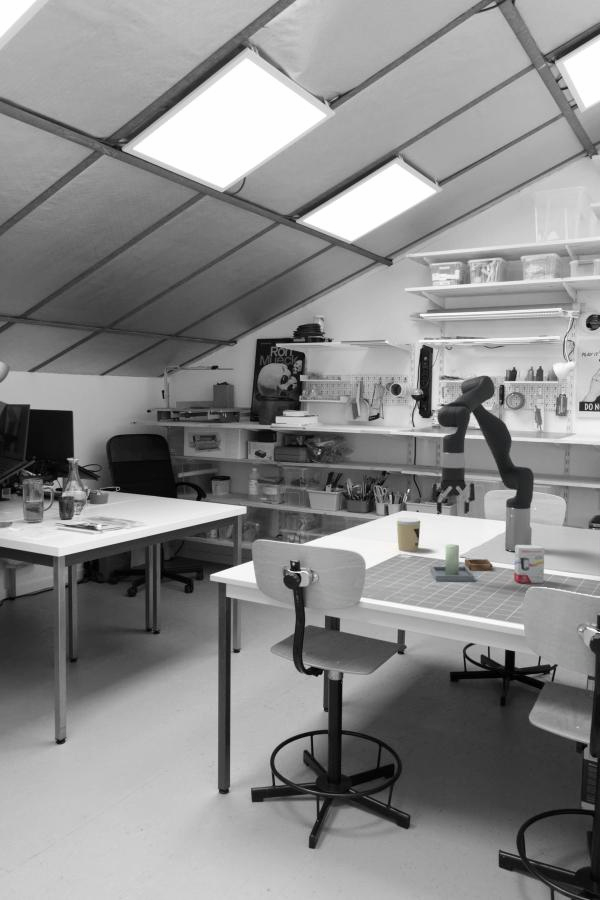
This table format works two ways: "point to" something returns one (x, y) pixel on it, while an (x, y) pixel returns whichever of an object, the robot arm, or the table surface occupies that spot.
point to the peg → (452, 560)
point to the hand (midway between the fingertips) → (452, 513)
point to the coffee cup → (408, 534)
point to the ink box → (529, 564)
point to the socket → (478, 564)
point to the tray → (440, 575)
